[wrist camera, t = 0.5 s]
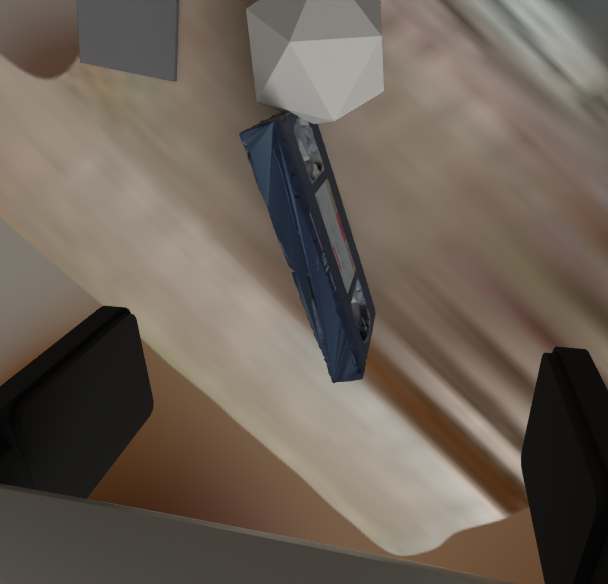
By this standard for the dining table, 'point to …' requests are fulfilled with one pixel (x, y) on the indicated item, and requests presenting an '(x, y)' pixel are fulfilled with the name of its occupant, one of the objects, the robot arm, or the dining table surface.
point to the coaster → (130, 35)
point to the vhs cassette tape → (314, 238)
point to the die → (316, 55)
